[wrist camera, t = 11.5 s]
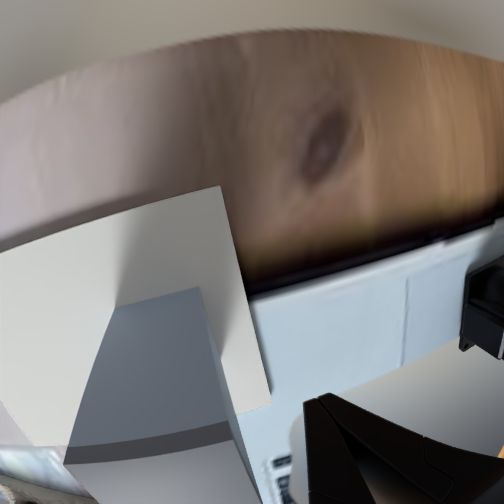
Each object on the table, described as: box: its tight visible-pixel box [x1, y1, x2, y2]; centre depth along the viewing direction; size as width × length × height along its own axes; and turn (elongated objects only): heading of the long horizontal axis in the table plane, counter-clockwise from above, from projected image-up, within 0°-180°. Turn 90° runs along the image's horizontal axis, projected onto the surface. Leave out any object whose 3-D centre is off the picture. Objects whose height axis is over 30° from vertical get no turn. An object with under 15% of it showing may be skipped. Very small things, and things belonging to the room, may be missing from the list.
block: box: [63, 286, 263, 504], centre depth 10 cm, size 4×4×9 cm
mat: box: [0, 185, 273, 447], centre depth 14 cm, size 16×12×1 cm
